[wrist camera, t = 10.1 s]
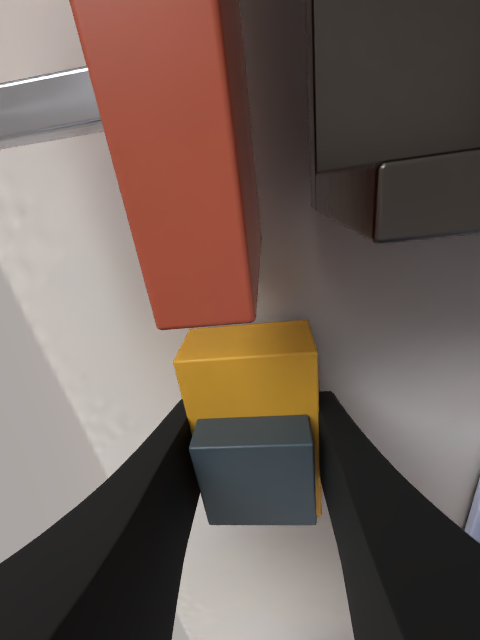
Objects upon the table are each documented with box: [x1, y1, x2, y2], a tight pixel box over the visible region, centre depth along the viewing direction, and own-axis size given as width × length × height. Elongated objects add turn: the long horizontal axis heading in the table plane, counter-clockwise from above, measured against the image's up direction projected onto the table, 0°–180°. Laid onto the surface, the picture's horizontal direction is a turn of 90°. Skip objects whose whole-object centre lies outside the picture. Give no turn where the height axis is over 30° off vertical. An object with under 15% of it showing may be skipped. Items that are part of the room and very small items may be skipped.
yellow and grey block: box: [173, 320, 322, 525], centre depth 10 cm, size 6×4×4 cm, turn 7°
